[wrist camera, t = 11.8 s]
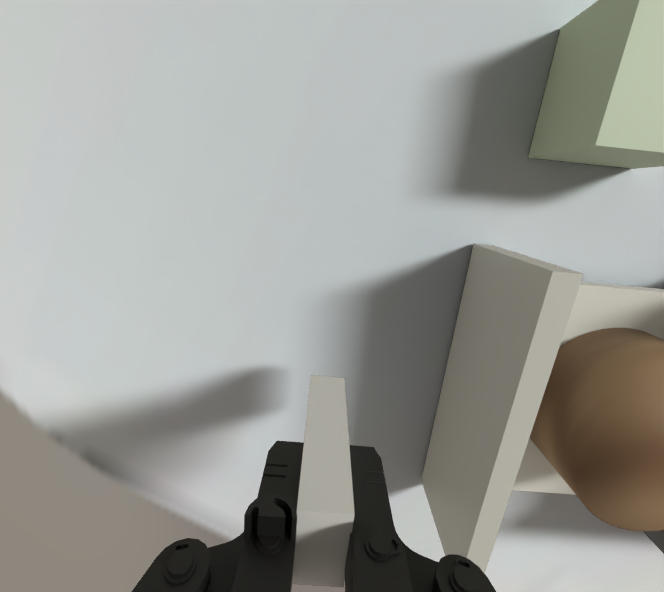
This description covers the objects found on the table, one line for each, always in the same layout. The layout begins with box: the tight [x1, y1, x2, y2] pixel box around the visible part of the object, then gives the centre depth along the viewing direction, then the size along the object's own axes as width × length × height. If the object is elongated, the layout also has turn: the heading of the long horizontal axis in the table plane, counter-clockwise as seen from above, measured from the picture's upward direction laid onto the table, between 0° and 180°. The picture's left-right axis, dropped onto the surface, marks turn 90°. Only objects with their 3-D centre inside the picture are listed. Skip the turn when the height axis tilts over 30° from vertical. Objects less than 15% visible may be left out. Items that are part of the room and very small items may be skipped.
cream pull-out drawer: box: [421, 244, 664, 574], centre depth 16 cm, size 16×15×6 cm
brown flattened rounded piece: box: [530, 328, 664, 531], centre depth 15 cm, size 8×8×4 cm
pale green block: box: [528, 0, 664, 169], centre depth 12 cm, size 5×5×4 cm
